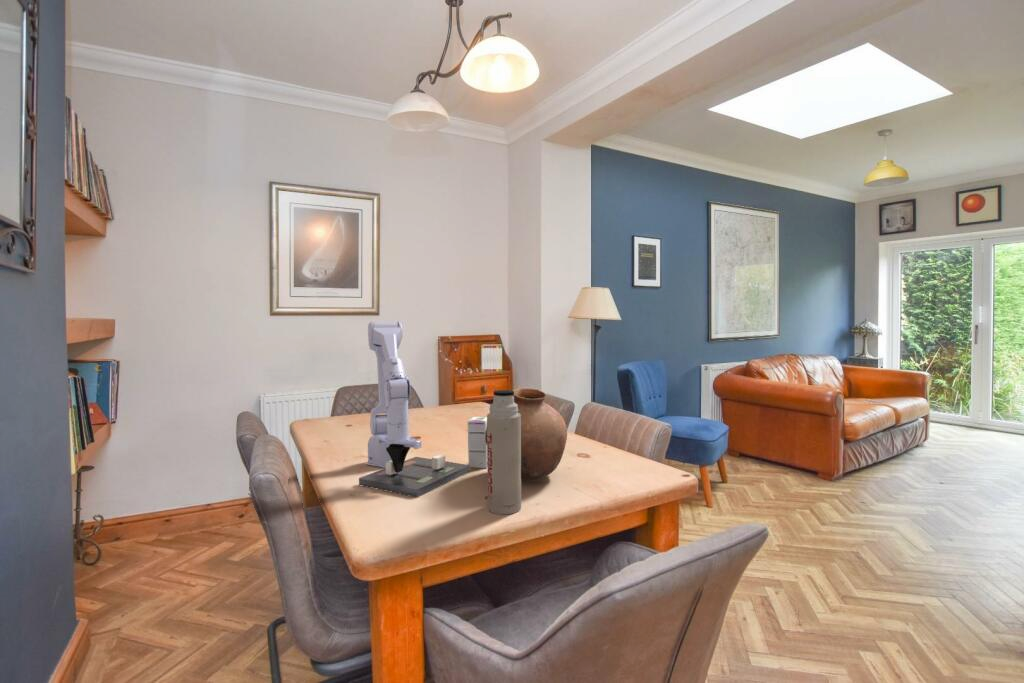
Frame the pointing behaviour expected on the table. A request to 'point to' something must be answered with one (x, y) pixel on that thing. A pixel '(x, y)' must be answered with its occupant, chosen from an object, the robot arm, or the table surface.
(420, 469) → the breaker panel
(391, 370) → the robot arm
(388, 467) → the beige rectangular block
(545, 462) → the pottery
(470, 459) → the syrup box
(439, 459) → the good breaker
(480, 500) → the table surface
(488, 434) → the thermos bottle
